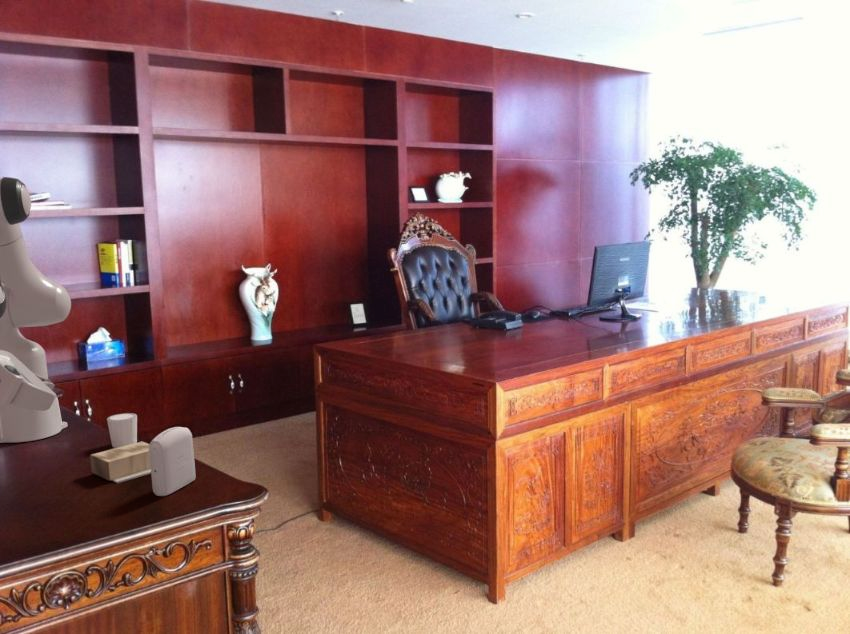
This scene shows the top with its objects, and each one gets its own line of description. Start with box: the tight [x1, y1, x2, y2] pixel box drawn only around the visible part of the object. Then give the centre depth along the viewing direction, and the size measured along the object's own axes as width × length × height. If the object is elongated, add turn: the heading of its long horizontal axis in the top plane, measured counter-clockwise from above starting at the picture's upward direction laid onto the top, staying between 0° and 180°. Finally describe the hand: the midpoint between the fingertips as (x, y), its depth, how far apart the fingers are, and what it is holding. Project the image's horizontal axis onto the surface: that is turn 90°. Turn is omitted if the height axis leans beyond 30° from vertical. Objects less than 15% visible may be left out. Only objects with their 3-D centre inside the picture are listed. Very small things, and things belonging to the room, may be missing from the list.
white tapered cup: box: [106, 412, 138, 448], centre depth 196 cm, size 7×7×7 cm
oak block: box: [89, 440, 151, 481], centre depth 177 cm, size 8×4×12 cm
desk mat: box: [111, 468, 151, 484], centre depth 178 cm, size 12×13×1 cm
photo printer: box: [149, 426, 197, 497], centre depth 165 cm, size 10×4×12 cm, turn 158°
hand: (50, 385), depth 165 cm, fingers closed
